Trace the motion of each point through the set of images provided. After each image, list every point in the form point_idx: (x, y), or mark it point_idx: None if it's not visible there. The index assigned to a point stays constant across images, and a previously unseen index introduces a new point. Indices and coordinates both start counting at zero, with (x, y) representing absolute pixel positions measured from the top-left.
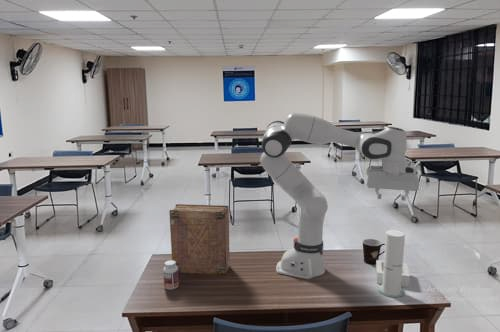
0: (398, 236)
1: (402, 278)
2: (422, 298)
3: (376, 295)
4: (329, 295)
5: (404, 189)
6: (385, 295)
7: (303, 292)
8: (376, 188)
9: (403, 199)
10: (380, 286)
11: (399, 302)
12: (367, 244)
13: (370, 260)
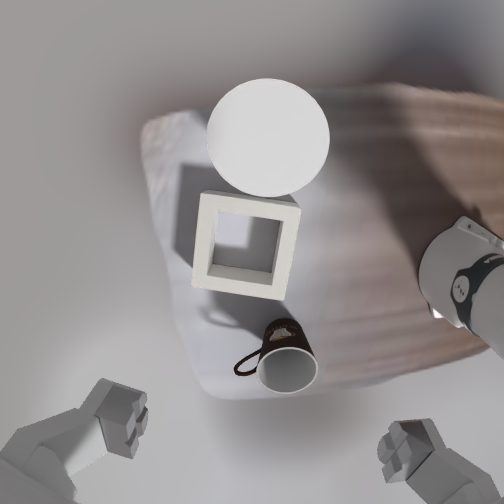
0: (260, 80)
1: (223, 194)
2: (187, 130)
3: None
4: (426, 133)
5: (37, 495)
6: None
7: (473, 151)
8: (493, 501)
9: (118, 392)
10: None
11: None
12: (294, 378)
13: (291, 324)
